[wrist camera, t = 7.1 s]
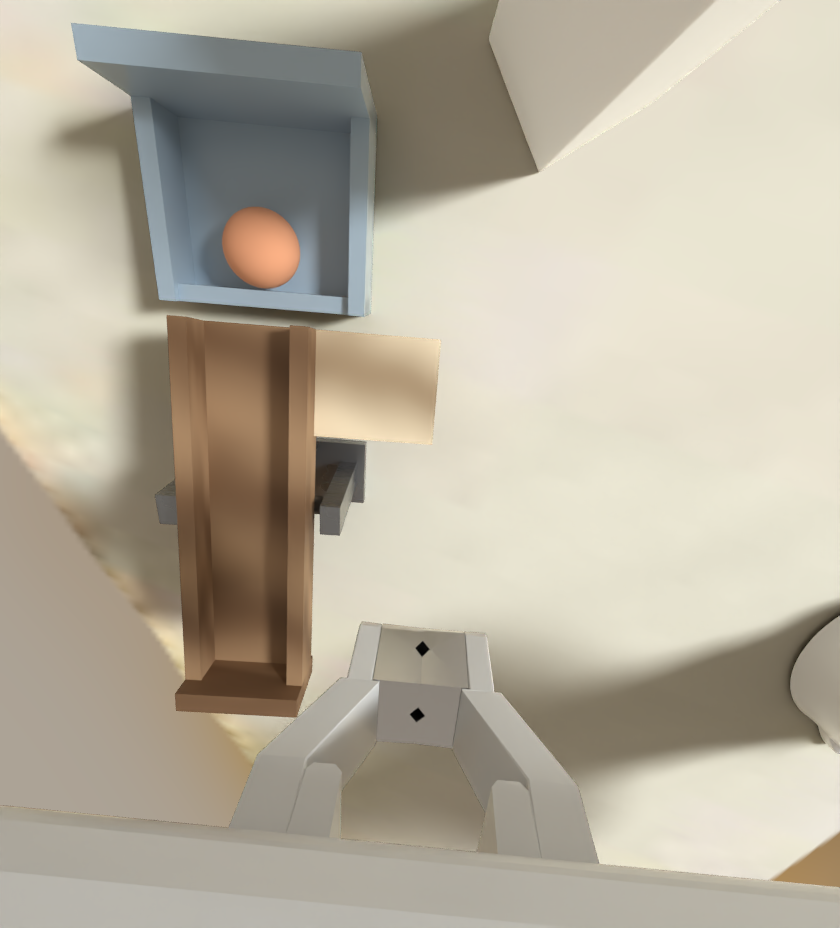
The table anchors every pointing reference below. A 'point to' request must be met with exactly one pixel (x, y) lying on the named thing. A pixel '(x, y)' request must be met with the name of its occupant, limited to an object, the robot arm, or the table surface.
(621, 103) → the milk
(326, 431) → the lever
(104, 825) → the robot arm
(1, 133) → the table surface
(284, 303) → the light blue open box
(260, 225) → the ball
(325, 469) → the pivot stand
